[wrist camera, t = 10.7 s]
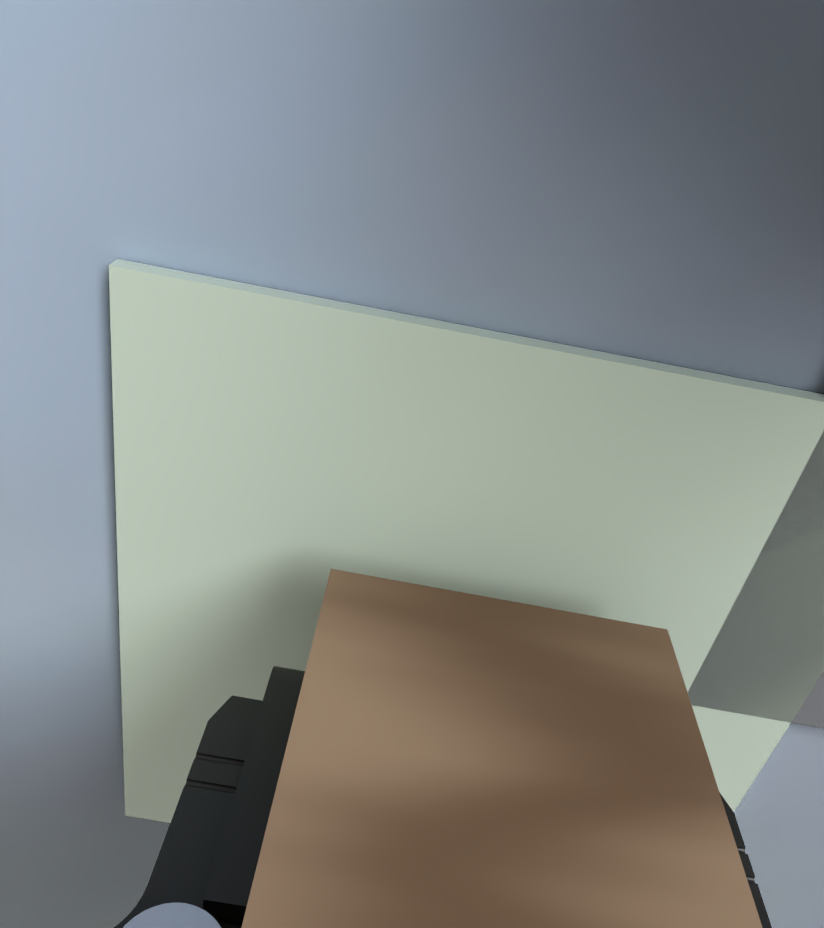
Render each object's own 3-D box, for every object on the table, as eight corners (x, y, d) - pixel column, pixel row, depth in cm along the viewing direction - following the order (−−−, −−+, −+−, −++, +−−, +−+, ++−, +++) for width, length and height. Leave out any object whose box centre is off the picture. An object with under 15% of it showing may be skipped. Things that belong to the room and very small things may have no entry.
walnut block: (667, 629, 11) (835, 1156, 6) (571, 832, 14) (632, 1323, 9) (330, 568, 11) (209, 1057, 6) (297, 785, 14) (191, 1257, 8)
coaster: (965, 421, 11) (976, 431, 11) (670, 893, 17) (673, 906, 17) (117, 258, 10) (108, 265, 10) (130, 803, 17) (125, 815, 16)
